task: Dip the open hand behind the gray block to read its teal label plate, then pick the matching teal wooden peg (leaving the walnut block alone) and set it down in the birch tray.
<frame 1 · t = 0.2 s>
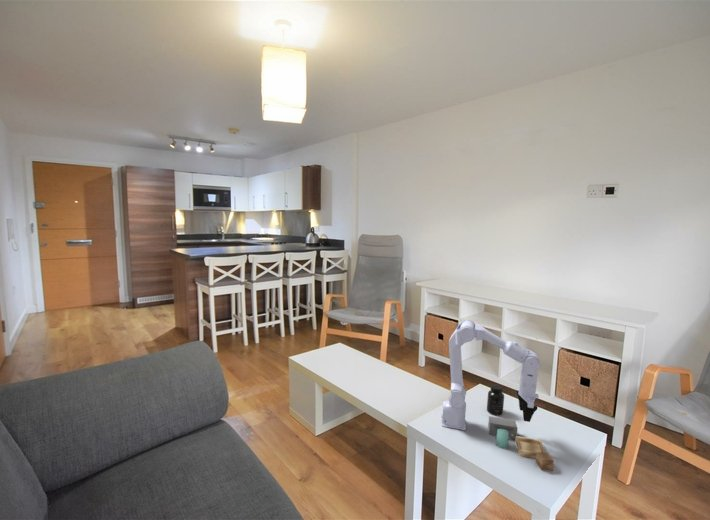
hand: (524, 415, 139), 10 cm above the table, fingers open, 7 cm apart
gray block: (501, 433, 143), on the table
supplement bottle: (494, 412, 159), on the table
teal peg: (501, 445, 136), on the table
birch tray: (530, 450, 133), on the table
walnut block: (544, 466, 125), on the table
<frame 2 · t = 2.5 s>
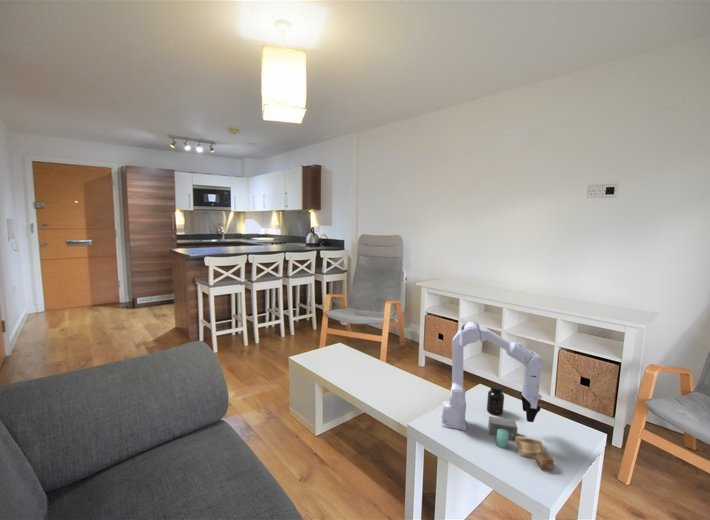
hand: (527, 416, 140), 9 cm above the table, fingers open, 7 cm apart
nothing on the table moved.
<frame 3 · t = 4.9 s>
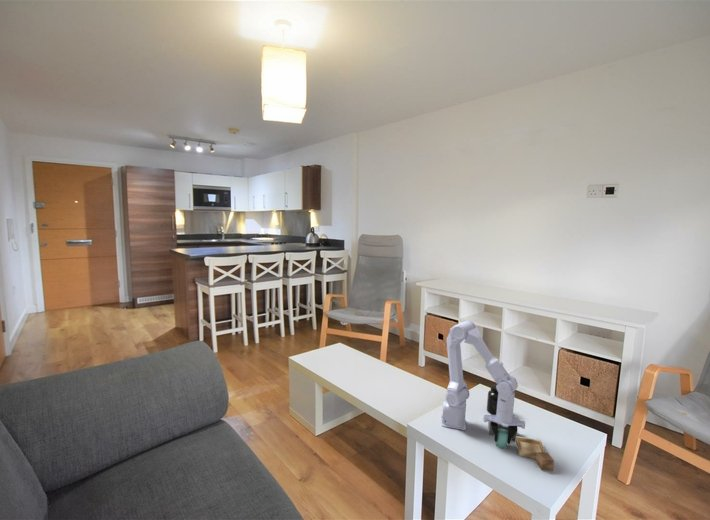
hand: (502, 441, 136), 1 cm above the table, fingers closed on teal peg, 4 cm apart
teal peg: (501, 444, 136), on the table, touching gripper
everything else where it was.
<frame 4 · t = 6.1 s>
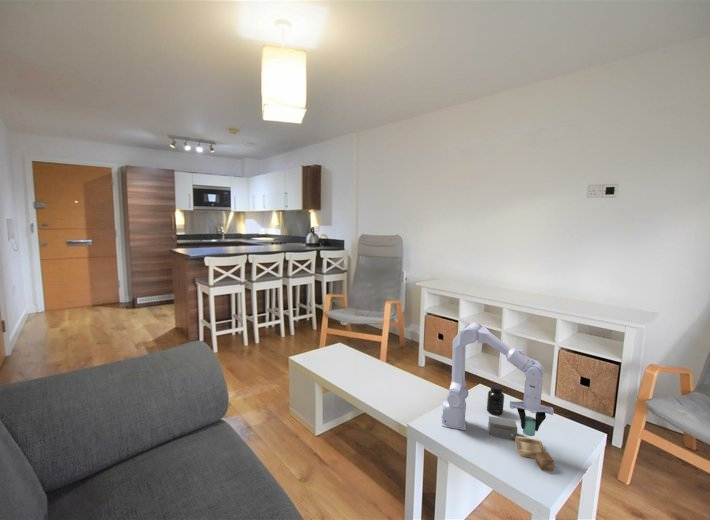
hand: (529, 428, 133), 9 cm above the table, fingers closed on teal peg, 4 cm apart
teal peg: (528, 432, 133), point 7 cm above the table, touching gripper
everything else where it was.
when the fingers open (3 cm above the table, at t = 7.6 s): teal peg stays where it is, resting on birch tray.
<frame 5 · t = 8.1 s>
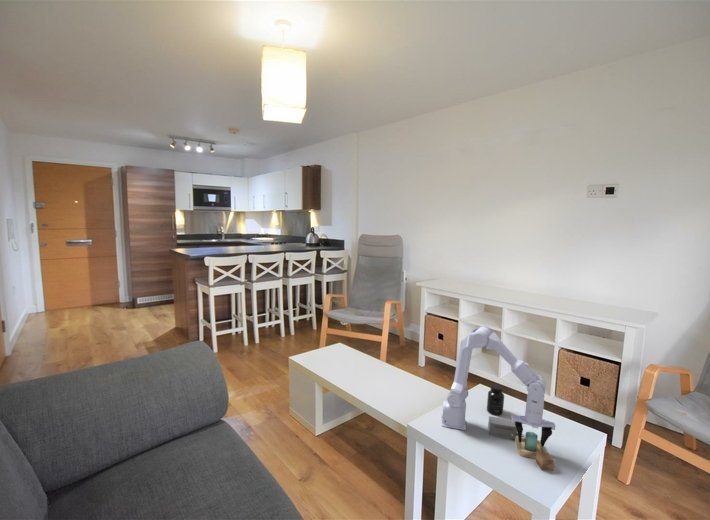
hand: (530, 443, 133), 3 cm above the table, fingers open, 7 cm apart
teal peg: (530, 448, 133), point 1 cm above the table, touching birch tray
everything else where it was.
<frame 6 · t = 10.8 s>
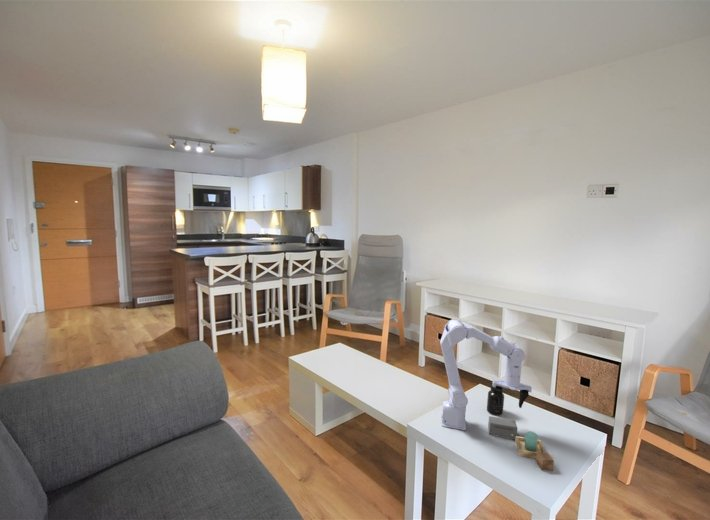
hand: (509, 405, 146), 10 cm above the table, fingers open, 7 cm apart
nothing on the table moved.
at the end: teal peg inside the target area on the birch tray (0.1 cm from its centre), point 0.8 cm above the birch tray's base; the gripper is holding nothing; walnut block moved 0.1 cm from its start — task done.
